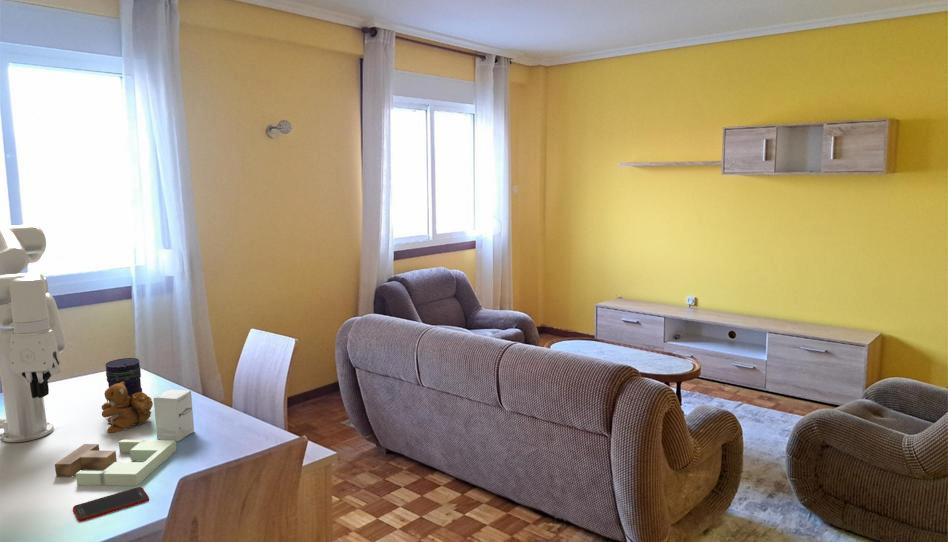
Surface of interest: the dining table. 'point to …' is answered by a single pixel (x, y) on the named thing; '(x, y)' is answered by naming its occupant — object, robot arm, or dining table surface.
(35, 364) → the robot arm
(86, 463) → the tee
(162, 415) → the supplement box
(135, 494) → the cell phone
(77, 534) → the dining table surface
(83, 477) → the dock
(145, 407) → the stuffed squirrel
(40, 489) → the dining table surface
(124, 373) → the dark blue barrel
